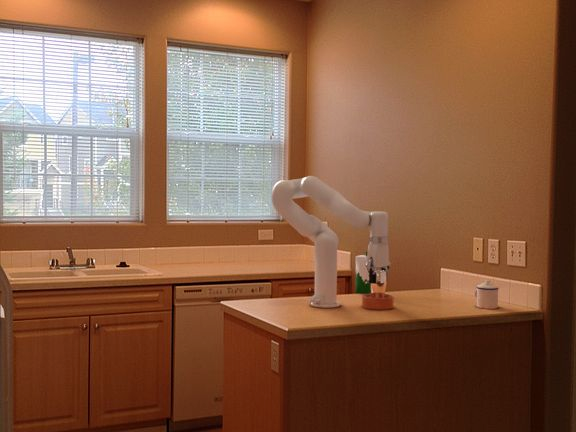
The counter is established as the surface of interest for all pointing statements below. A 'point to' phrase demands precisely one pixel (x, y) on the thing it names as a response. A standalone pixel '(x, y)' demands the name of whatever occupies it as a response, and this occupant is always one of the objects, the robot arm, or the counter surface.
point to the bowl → (377, 302)
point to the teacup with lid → (487, 295)
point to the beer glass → (379, 284)
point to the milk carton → (362, 275)
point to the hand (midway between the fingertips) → (378, 282)
